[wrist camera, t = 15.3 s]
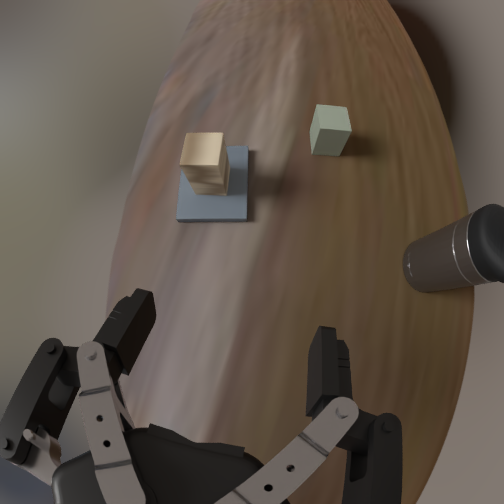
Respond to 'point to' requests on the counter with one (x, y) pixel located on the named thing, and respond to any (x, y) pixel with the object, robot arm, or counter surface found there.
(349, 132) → the sage block
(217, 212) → the slate board
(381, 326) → the counter surface
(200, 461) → the robot arm
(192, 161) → the birch block
